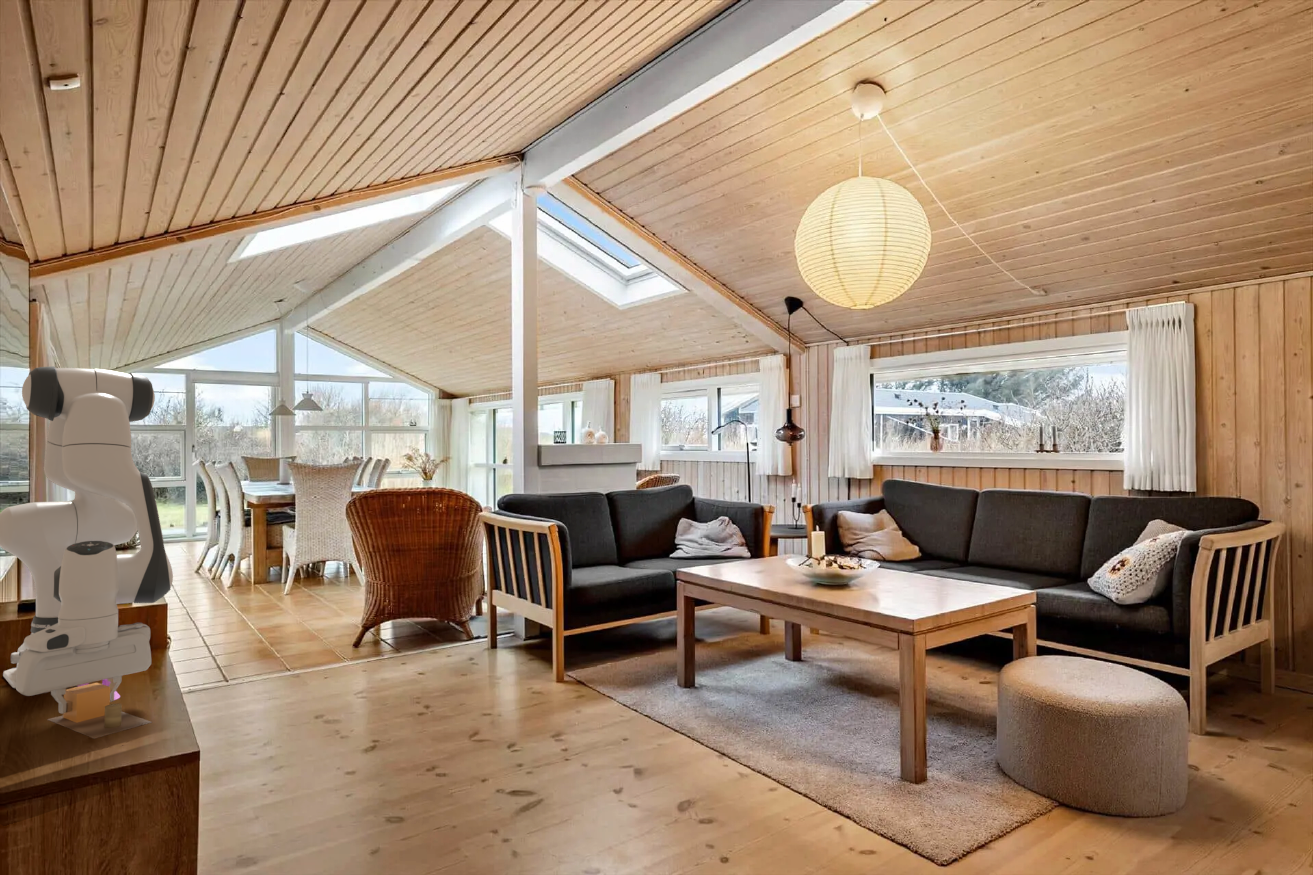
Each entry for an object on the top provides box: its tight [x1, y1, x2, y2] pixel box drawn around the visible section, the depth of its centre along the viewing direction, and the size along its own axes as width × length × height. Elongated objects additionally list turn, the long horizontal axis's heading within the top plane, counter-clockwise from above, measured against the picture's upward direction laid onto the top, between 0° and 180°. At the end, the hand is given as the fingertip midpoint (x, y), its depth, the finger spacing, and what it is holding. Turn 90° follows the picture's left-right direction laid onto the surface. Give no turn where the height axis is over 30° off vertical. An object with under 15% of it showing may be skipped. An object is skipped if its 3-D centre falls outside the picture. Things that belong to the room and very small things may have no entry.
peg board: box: [46, 703, 153, 739], centre depth 134 cm, size 18×9×5 cm, turn 59°
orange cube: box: [62, 682, 111, 723], centre depth 137 cm, size 5×5×5 cm
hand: (86, 707), depth 137 cm, fingers closed on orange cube, 5 cm apart
